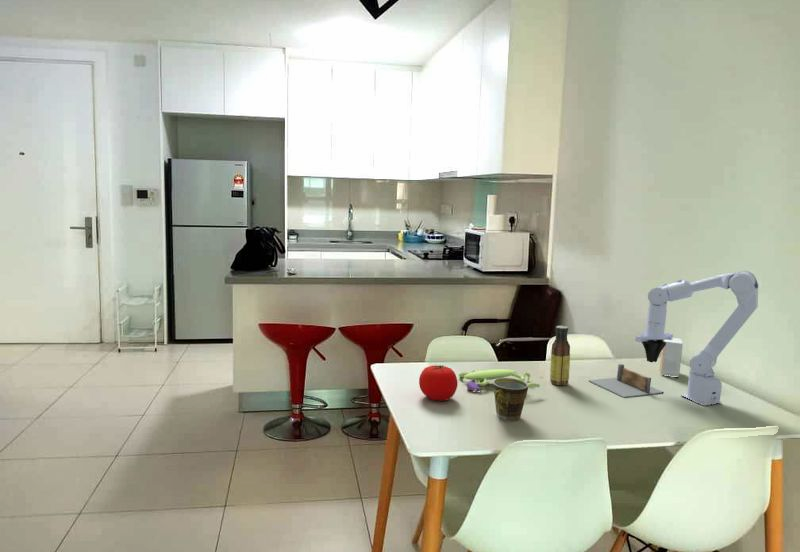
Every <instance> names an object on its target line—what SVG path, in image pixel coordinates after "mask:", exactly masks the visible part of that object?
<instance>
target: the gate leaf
mask: <svg viewBox="0 0 800 552" xmlns="http://www.w3.org/2000/svg"><path fill="white" fill-rule="evenodd" d="M621 381H623V382H626V383H628V384H630V385H632V386H635V387H637V388H639V389H641V390H644V391H647V382H648V376H645V375H643V374H640V373H639V372H636V371H633V370H630V369H628V368H626V367H624V368H623V369H622V379H621Z"/></svg>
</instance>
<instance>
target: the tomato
mask: <svg viewBox="0 0 800 552" xmlns="http://www.w3.org/2000/svg"><path fill="white" fill-rule="evenodd" d="M418 384H419V389H420V391H421V393H422V394H424V396H426V397H427V398H428V399H430V400H433V401H438V402H443V401H447V400H450V399H451V398H452V397H453V396H454V395H456V392H457V389H458V378H457V374H456V373H455V371H454V370H453V368H451V367H449V366H445V365H437V364H435V365H429V366H427V367H424V368H423V370H422V371H421V373H420V375H419V379H418Z"/></svg>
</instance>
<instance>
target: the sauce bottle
mask: <svg viewBox="0 0 800 552" xmlns="http://www.w3.org/2000/svg"><path fill="white" fill-rule="evenodd" d="M568 332H569V327H568V326H565V325H556V326H555V338H554V339H555V340H554V341H553V343H552V345H551V353H550V368H549V369H550V374H549V378H550V383H551V384H552V385H555V386H567V385H568V384H569V380H570V365H571V364H570V363H571V346H570V345H571V344H570V343H569V341H568Z"/></svg>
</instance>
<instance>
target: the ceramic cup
mask: <svg viewBox="0 0 800 552" xmlns="http://www.w3.org/2000/svg"><path fill="white" fill-rule="evenodd" d="M518 379H519V378H511V377H504V378H498V379H493V380H492V386H493V387H492V388H493V394H494V403H495V404H494V405H495V413H496V416H497V417H498V419H500V418H501V419H500V420H503V419H504V421H506V420H509V421H511V422H512V421H513V422H514V421H517V420H519V419H520V418H521V416H522V412H523V408H524V406H525V400H526V397H527V395H528V389H529V387H528V382H526V381H525V380H524V381H522V380H518ZM509 421H508V422H509Z"/></svg>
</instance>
